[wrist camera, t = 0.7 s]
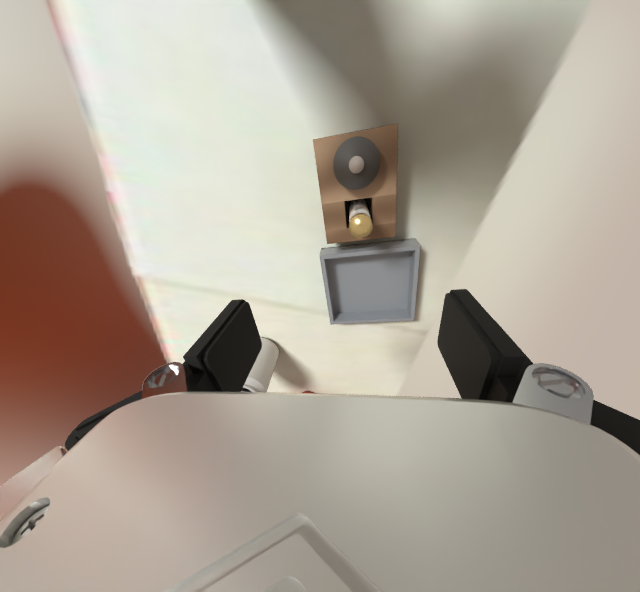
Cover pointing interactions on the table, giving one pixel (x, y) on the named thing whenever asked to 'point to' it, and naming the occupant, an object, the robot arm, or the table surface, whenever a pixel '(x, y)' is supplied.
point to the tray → (371, 281)
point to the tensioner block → (358, 179)
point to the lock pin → (359, 219)
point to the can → (262, 368)
